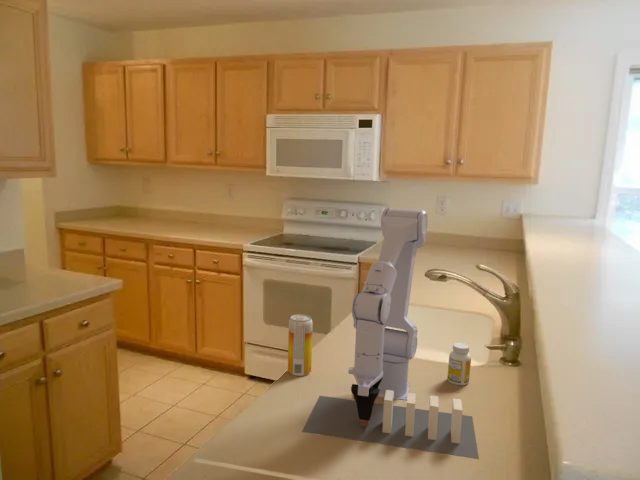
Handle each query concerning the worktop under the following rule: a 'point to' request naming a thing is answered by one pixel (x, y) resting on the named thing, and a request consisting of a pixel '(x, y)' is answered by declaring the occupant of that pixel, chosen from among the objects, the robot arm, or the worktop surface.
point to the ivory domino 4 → (456, 421)
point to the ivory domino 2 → (410, 414)
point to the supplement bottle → (459, 364)
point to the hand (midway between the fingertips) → (366, 413)
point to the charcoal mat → (345, 423)
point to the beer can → (300, 345)
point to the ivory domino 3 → (433, 417)
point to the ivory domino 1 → (388, 411)
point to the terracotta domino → (365, 421)
